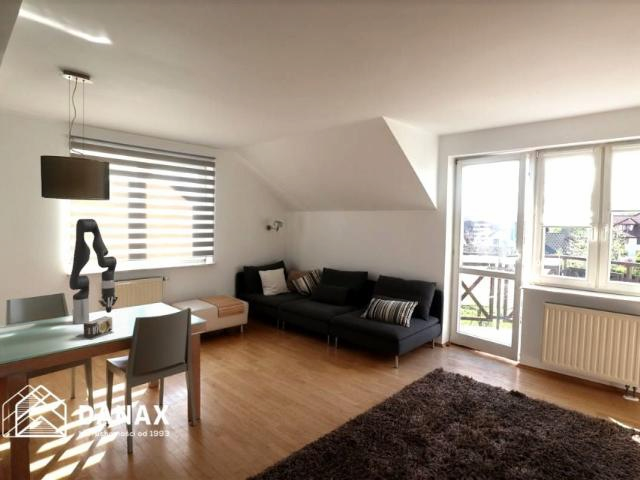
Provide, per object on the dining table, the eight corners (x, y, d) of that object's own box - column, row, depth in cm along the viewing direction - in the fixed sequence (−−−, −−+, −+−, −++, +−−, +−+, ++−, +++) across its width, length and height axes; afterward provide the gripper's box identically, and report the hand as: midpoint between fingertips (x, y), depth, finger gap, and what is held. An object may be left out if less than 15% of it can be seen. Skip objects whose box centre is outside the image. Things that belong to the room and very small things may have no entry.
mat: (76, 336, 223) (76, 336, 223) (98, 329, 237) (98, 328, 237) (92, 339, 218) (92, 339, 218) (113, 332, 232) (113, 331, 232)
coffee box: (113, 330, 235) (91, 338, 219) (105, 329, 236) (83, 337, 221) (112, 316, 234) (91, 324, 218) (104, 315, 236) (82, 323, 220)
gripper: (112, 284, 242) (113, 309, 243) (94, 288, 229) (95, 314, 231) (121, 285, 239) (121, 310, 240) (102, 289, 227) (103, 315, 228)
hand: (108, 312), depth 235 cm, fingers closed
